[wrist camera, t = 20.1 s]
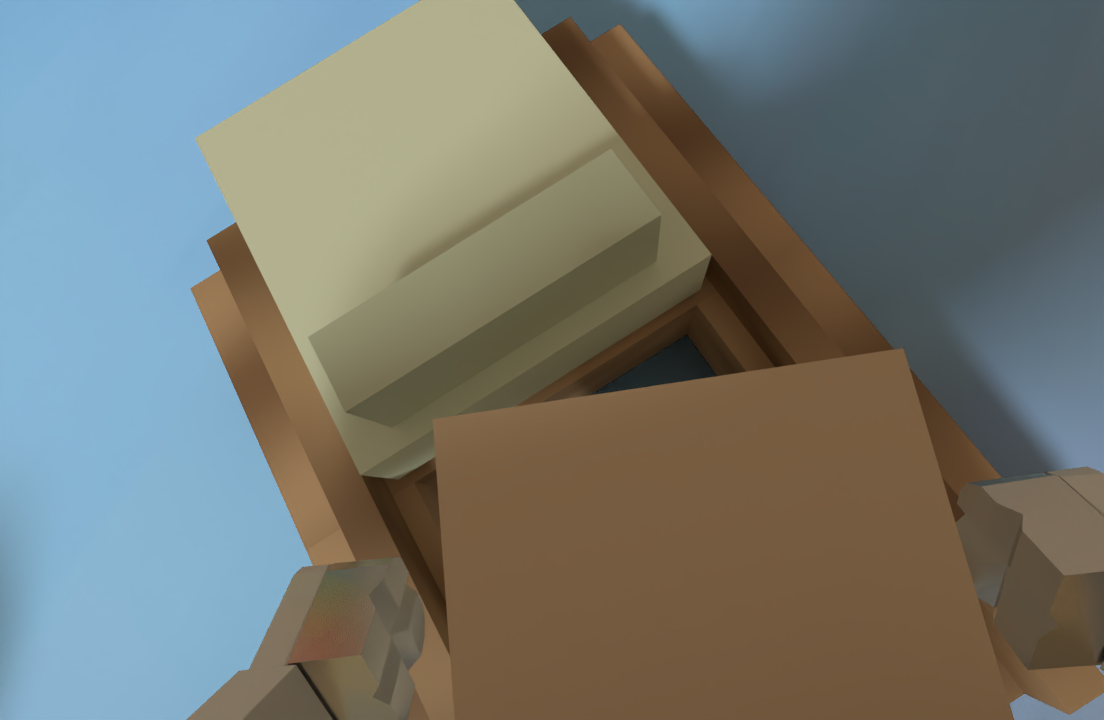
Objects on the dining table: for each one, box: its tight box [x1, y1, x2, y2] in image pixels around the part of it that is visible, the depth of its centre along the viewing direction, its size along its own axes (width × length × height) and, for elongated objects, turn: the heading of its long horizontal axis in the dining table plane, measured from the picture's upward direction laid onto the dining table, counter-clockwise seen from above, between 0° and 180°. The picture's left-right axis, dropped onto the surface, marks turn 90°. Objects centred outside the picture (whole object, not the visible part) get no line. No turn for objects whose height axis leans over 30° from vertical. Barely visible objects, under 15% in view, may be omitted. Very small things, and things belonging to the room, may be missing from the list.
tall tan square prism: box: [433, 348, 1014, 720], centre depth 10 cm, size 5×5×10 cm
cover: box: [195, 0, 712, 480], centre depth 13 cm, size 10×8×4 cm
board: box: [191, 17, 1104, 720], centre depth 14 cm, size 18×14×4 cm
